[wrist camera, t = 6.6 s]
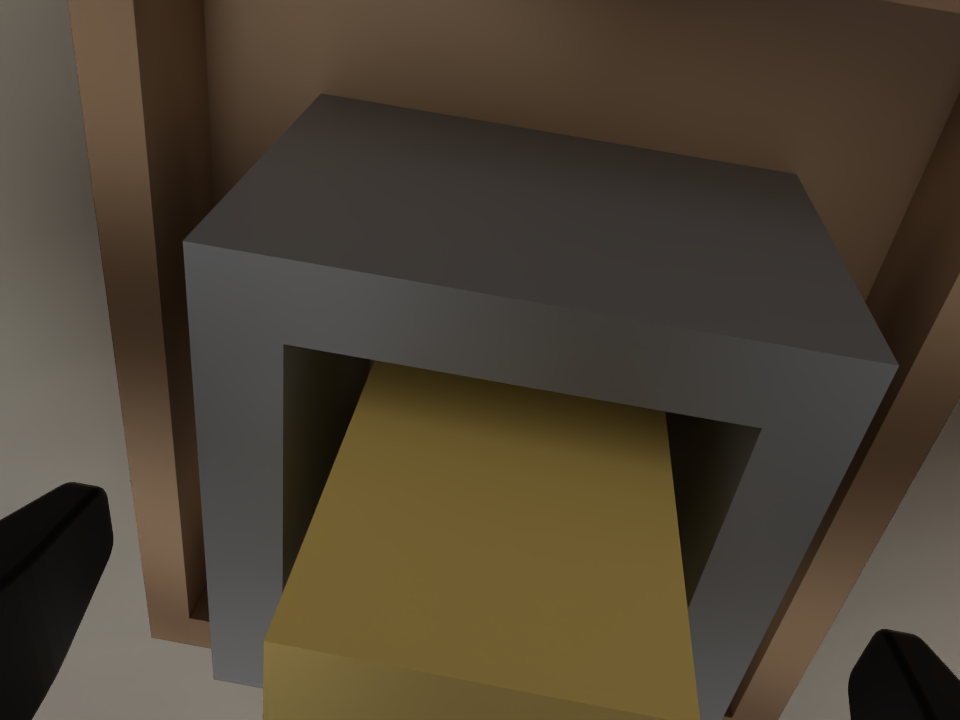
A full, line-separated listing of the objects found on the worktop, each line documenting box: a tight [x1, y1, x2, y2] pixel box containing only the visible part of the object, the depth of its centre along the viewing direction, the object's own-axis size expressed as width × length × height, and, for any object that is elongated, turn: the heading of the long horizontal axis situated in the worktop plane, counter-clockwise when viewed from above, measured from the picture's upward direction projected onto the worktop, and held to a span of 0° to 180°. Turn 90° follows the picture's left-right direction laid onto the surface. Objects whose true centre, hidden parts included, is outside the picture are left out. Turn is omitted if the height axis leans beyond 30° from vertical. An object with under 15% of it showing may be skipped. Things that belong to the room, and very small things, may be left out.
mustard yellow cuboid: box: [263, 360, 700, 720], centre depth 11 cm, size 4×4×8 cm
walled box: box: [68, 0, 960, 720], centre depth 14 cm, size 14×12×2 cm
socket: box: [183, 93, 899, 720], centre depth 12 cm, size 7×7×5 cm
